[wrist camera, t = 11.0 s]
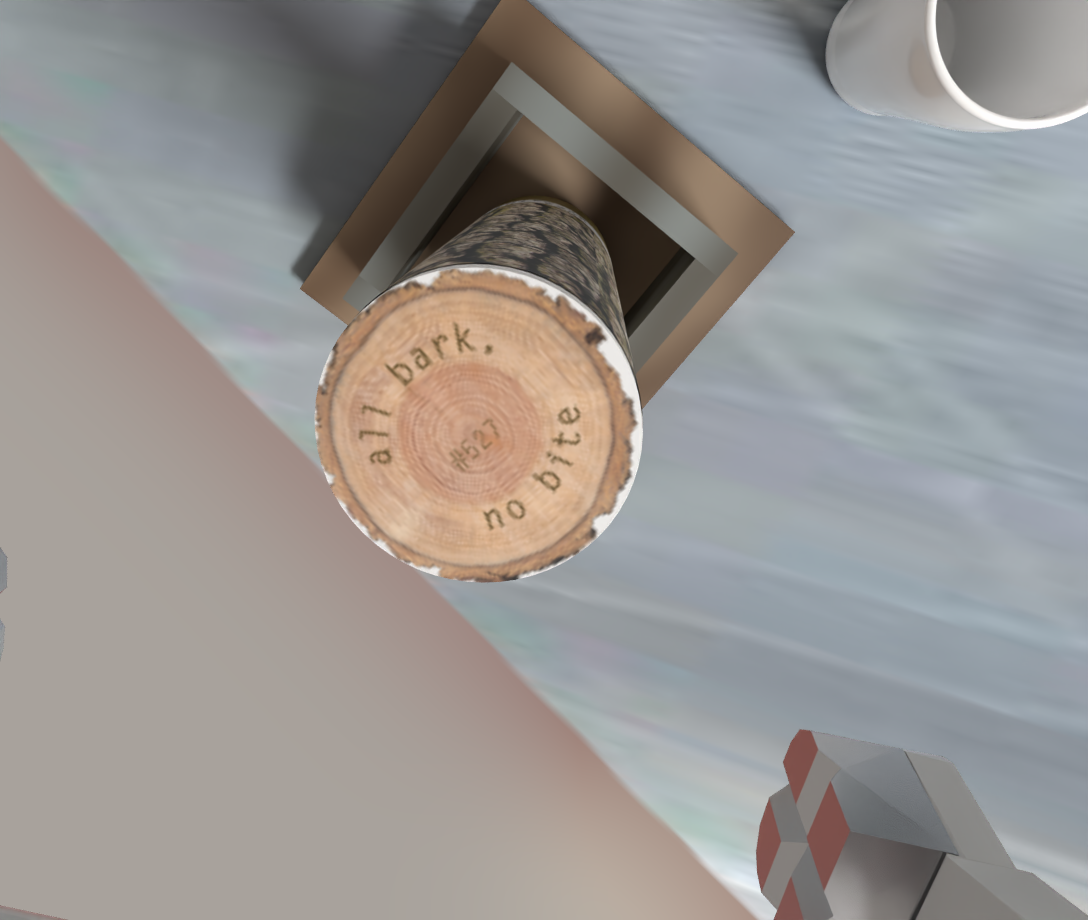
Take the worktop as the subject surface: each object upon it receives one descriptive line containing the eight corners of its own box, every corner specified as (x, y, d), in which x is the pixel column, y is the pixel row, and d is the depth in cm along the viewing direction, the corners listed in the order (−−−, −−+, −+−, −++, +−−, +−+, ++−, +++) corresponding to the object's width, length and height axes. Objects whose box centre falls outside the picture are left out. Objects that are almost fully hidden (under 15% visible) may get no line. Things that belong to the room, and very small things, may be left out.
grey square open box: (305, 285, 45) (265, 307, 39) (512, -10, 40) (500, -34, 35) (569, 485, 47) (567, 533, 42) (790, 230, 43) (821, 244, 37)
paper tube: (431, 266, 43) (245, 420, 20) (541, 160, 41) (483, 190, 18) (532, 374, 45) (473, 640, 21) (642, 276, 43) (712, 446, 19)
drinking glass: (842, 162, 42) (973, 176, 28) (779, 15, 40) (885, -51, 26) (989, 83, 41) (1206, 55, 26) (931, -72, 39) (1131, -191, 25)
